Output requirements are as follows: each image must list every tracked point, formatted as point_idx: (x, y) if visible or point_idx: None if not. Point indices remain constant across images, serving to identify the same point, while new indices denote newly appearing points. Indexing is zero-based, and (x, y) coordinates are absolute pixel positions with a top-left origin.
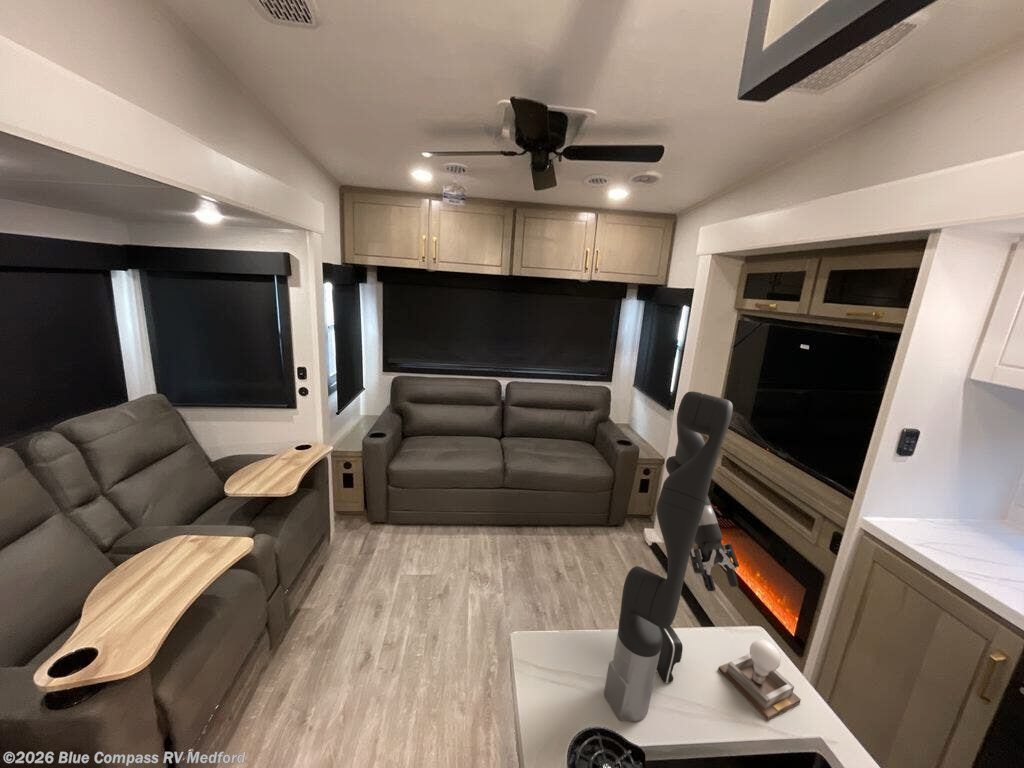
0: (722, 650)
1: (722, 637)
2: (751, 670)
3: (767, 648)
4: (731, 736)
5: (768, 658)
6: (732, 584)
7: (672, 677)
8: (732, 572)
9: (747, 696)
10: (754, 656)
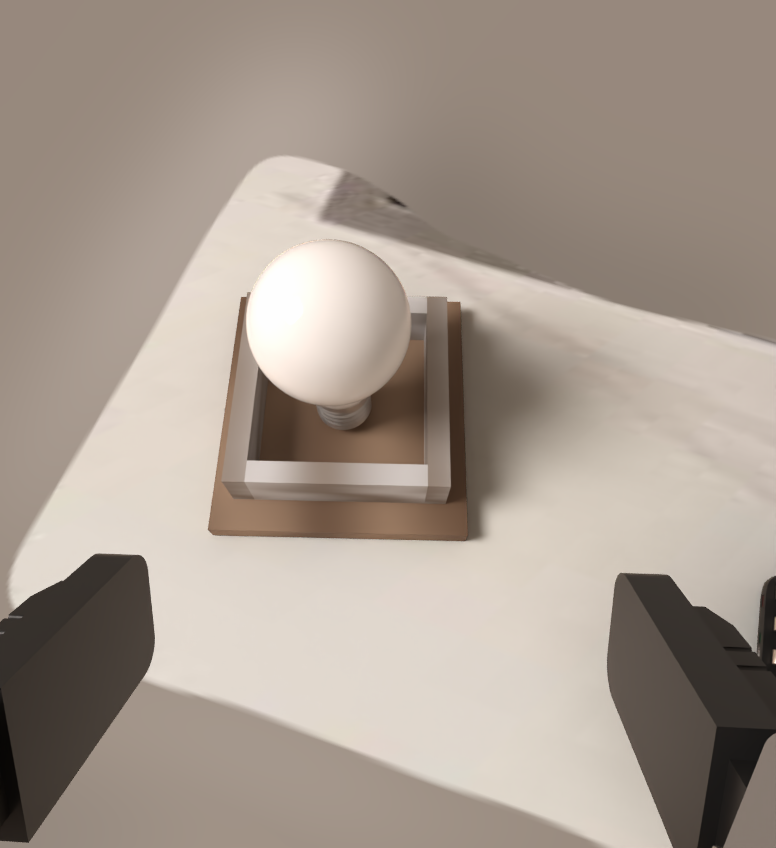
0: (324, 621)
1: (230, 693)
2: (311, 458)
3: (352, 263)
4: (657, 325)
5: (382, 260)
6: (139, 625)
7: (772, 586)
8: (19, 670)
9: (462, 385)
10: (409, 336)
